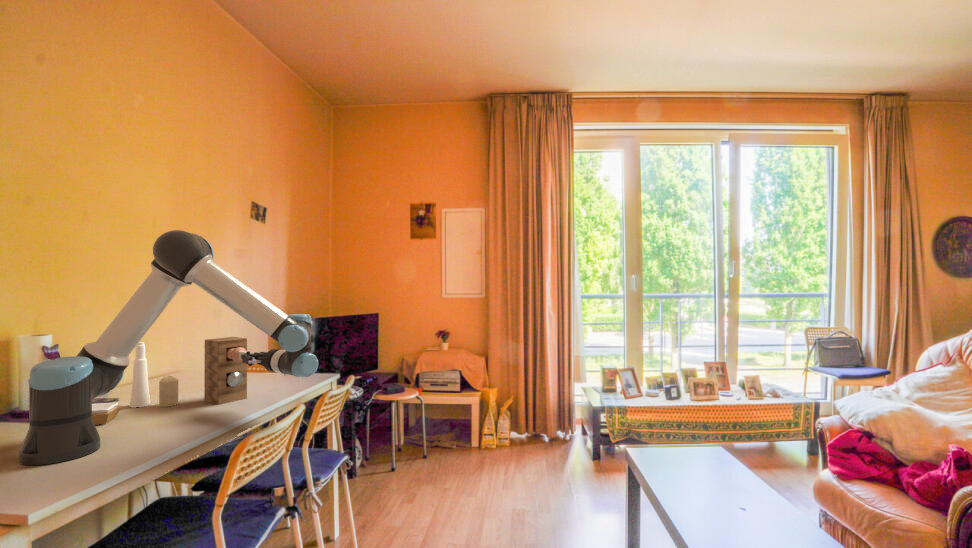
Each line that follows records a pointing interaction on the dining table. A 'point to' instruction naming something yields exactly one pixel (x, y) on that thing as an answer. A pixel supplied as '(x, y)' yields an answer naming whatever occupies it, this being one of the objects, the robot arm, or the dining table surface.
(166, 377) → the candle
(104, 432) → the dining table surface
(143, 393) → the cosmetic bottle
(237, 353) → the terracotta plug
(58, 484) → the dining table surface
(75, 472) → the dining table surface
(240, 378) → the steel plug
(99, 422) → the soap dish
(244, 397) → the socket block
